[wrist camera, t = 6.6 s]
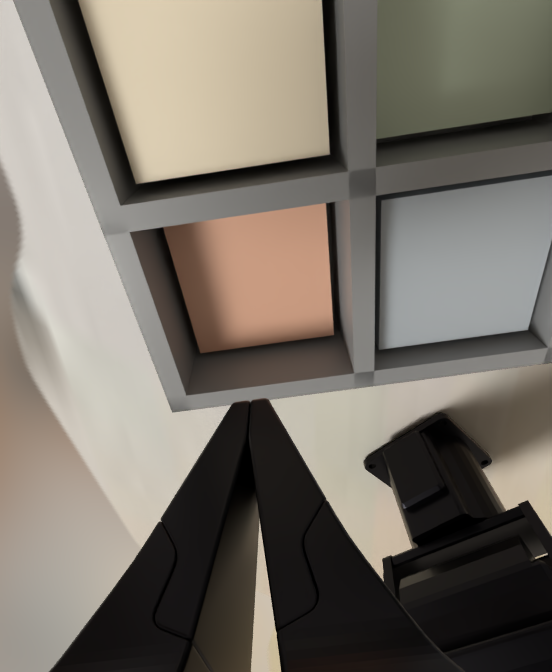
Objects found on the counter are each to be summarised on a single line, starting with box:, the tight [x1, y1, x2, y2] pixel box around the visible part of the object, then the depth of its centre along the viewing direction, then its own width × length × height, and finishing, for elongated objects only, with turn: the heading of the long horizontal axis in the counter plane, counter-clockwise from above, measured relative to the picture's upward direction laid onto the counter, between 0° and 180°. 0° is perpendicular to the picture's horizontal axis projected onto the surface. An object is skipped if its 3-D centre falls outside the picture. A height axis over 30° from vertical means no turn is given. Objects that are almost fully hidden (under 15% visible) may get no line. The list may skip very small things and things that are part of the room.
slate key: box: [375, 170, 552, 350], centre depth 15 cm, size 6×6×2 cm
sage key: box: [376, 0, 552, 139], centre depth 12 cm, size 6×6×2 cm
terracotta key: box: [163, 203, 334, 353], centre depth 16 cm, size 6×6×2 cm
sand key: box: [78, 0, 330, 184], centre depth 11 cm, size 6×6×2 cm
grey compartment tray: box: [13, 0, 552, 412], centre depth 13 cm, size 20×16×6 cm
